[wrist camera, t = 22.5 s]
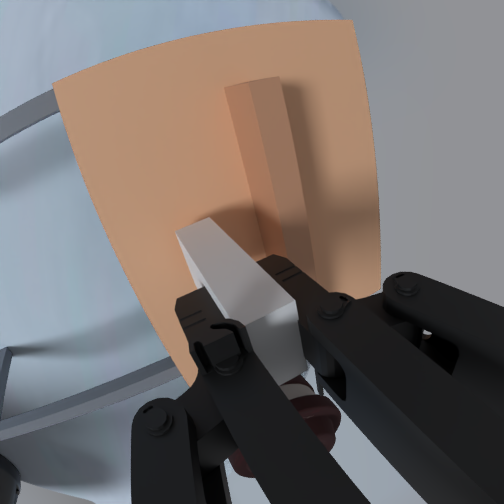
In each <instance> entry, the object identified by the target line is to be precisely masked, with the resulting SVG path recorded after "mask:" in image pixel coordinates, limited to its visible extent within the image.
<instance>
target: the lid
mask: <svg viewBox="0 0 504 504" xmlns="http://www.w3.org/2000/svg"><path fill="white" fill-rule="evenodd" d="M52 85H53V89H54V93H55V96H56V100H57V103H58V106H59V110H60V113H61V116H62V119H63V123H64V126H65V129H66V132H67V135H68V138H69V141H70V144H71V146H72V149H73V152H74V155H75V158H76V160H77V163H78V166H79V169H80V171H81V174H82V177H83V179H84V182H85V184H86V187H87V189H88V192H89V194H90V197H91V199H92V202H93V204H94V206H95V209H96V211H97V214H98V216H99V218H100V221H101V223H102V225H103V227H104V230H105V232H106V234H107V236H108V239H109V241H110V243H111V245H112V247H113V249H114V251H115V254H116V256H117V258H118V260H119V262H120V264H121V266H122V268H123V270H124V272H125V274H126V276H127V278H128V280H129V282H130V284H131V286H132V288H133V290H134V292H135V294H136V296H137V298H138V300H139V302H140V303H141V305H142V307H143V309H144V311H145V313H146V315H147V316H148V318H149V320H150V322H151V324H152V325H153V327H154V329H155V331H156V332H157V334H158V336H159V338H160V339H161V341H162V343H163V345H164V346H165V348H166V350H167V351H168V353H169V355H170V356H171V358H172V360H173V361H174V363H175V365H176V366H177V368H178V370H179V371H180V373H181V374H182V376H183V378H184V379H185V381H186V382H187V384H188V385H189V387H191V386H192V384H193V383H194V381H195V380H196V377H197V374H198V368H197V366H196V364H195V362H194V360H193V358H192V357H191V355H190V353H189V346H188V344H189V343H188V341H187V339H186V336H185V334H184V332H183V329H182V327H181V325H180V322H179V320H178V317H177V315H176V313H175V310H174V309H175V304H176V299H177V298H179V297H181V296H184V295H186V294H188V293H190V292H193V291H195V290H197V287H196V285H195V283H194V280H193V278H192V275H191V273H190V270H189V267H188V265H187V262H186V260H185V257H184V254H183V252H182V249H181V247H180V244H179V241H178V239H177V236H176V233H175V231H176V230H179V229H181V228H184V227H186V226H189V225H191V224H193V223H196V222H198V221H201V220H203V219H206V218H208V217H210V218H211V219H212V220H213V221H214V222H215V223H216V224H217V225H218V226H219V227H220V228H221V229H222V230H223V231H224V232H225V233H226V234H227V235H228V236H229V237H230V238H231V239H232V240H233V241H234V242H235V243H237V244H238V245H239V246H240V247H241V248H242V249H243V250H244V251H245V252H246V253H247V254H248V255H249V256H250V257H251V258H252V259H253V260H254V261H255V262H257V261H259V260H261V259H263V258H266V257H268V256H270V255H272V254H275V255H278V256H282V257H285V258H287V259H288V260H290V261H291V262H292V263H293V264H295V266H297V267H298V268H300V269H301V270H302V272H304V273H306V274H307V275H308V276H309V277H311V278H312V279H313V280H314V281H316V282H317V283H318V284H319V285H321V286H322V287H323V288H324V289H325V290H327V291H328V292H340V293H346V294H348V295H350V296H352V297H353V298H355V299H360V298H365V297H368V296H370V295H371V294H373V293H375V292H376V291H378V290H379V289H380V288H381V253H380V252H381V248H380V247H381V246H380V217H379V197H378V183H377V171H376V159H375V149H374V141H373V132H372V124H371V117H370V110H369V103H368V96H367V90H366V84H365V78H364V73H363V67H362V62H361V57H360V52H359V48H358V43H357V38H356V34H355V29H354V26H353V21H352V20H310V21H292V22H279V23H269V24H260V25H252V26H245V27H238V28H231V29H225V30H220V31H214V32H209V33H204V34H199V35H194V36H190V37H186V38H181V39H177V40H173V41H169V42H165V43H162V44H158V45H154V46H151V47H147V48H144V49H141V50H137V51H134V52H131V53H128V54H125V55H122V56H119V57H116V58H113V59H111V60H108V61H105V62H102V63H100V64H97V65H94V66H92V67H89V68H87V69H84V70H82V71H79V72H77V73H75V74H72V75H70V76H68V77H65V78H63V79H61V80H59V81H57V82H54V83H52Z"/></svg>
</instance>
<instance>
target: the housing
mask: <svg viewBox="0 0 504 504" xmlns="http://www.w3.org/2000/svg"><path fill="white" fill-rule="evenodd" d="M58 112H60V110H59V106H58V103H57V100H56V96H55V93H54V89H52V90H49V91H47V92H45V93H43V94H41V95H39V96H37V97H35V98H33V99H31V100H29V101H28V102H26V103H24V104H22V105H20V106H18V107H17V108H15V109H13V110H11V111H9V112H8V113H6V114H4V115H3V116H1V117H0V143H2V142H3V141H5V140H7V139H9V138H10V137H12V136H14V135H16V134H17V133H19V132H21V131H23V130H25V129H26V128H28V127H30V126H32V125H34V124H36V123H38V122H40V121H42V120H44V119H46V118H48V117H50V116H52V115H54V114H56V113H58ZM12 355H13V354H12V353H11V352H10V350H9V349H8V348H7V347H6V348H3V349H1V350H0V441H2V440H5V439H9V438H12V437H16V436H19V435H23V434H26V433H30V432H33V431H36V430H39V429H43V428H46V427H49V426H52V425H55V424H58V423H61V422H64V421H67V420H70V419H73V418H76V417H79V416H82V415H84V414H87V413H90V412H93V411H96V410H98V409H101V408H104V407H106V406H109V405H112V404H114V403H117V402H120V401H122V400H125V399H127V398H130V397H132V396H135V395H137V394H140V393H142V392H145V391H147V390H150V389H152V388H155V387H157V386H159V385H162V384H164V383H167V382H169V381H171V380H174V379H176V378H178V377H180V376H182V374H181V373H180V371H179V370H178V368H177V366H176V365H175V363H174V361H173V360H172V358H171V356H169V357H167V358H165V359H162V360H160V361H158V362H155V363H153V364H151V365H148V366H146V367H144V368H141V369H139V370H136V371H134V372H132V373H129V374H127V375H124V376H122V377H119V378H117V379H114V380H112V381H109V382H107V383H104V384H102V385H99V386H97V387H94V388H92V389H89V390H86V391H84V392H81V393H79V394H76V395H73V396H71V397H68V398H65V399H63V400H60V401H57V402H54V403H52V404H49V405H46V406H43V407H40V408H37V409H35V410H32V411H29V412H26V413H23V414H20V415H17V416H14V417H11V418H8V419H5V420H2V421H1V414H2V407H3V401H4V395H5V389H6V383H7V378H8V373H9V368H10V364H11V359H12Z"/></svg>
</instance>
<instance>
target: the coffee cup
mask: <svg viewBox="0 0 504 504" xmlns="http://www.w3.org/2000/svg"><path fill="white" fill-rule="evenodd" d="M279 387H280V388H281V390H282V391H283V392H284V394H285V395H286V396H287V398H288V399H289V400H290V402H291V403H292V404H293V406H294V407H295V409H296V410H297V411H298V413H299V414H300V415H301V417H302V418H303V419H304V420H305V422H306V423H307V424H308V426H309V427H310V428H311V430H312V431H313V432H314V434H315V435H316V436H317V437H318V439H319V440H320V441H321V443H322V444H323V445H324V446H325V448H326V449H327V450H328V452H330V451H331V449H332V448H333V446H334V444H335V440H336V437H335V432H336V431H337V429H338V427H339V425H340V421H341V413H340V411H339V409H338V408H337V407H336V406H335V405H334V403H333V402H332V401H331V400H330V399H329V398H327V397H326V396H323V395H322V396H320V395H316V394H315V393H314V390H313V388H312V386H311V385H310V384H309V383H308V382H307V381H306V380H305V379H304V378H303V377H302V376H301V375H298V376H296V377H294V378H292V379H291V380H289V381H287V382H285V383H283V384H281V385H280V386H279ZM228 459H229V461H230V463H231V465H232V467H233V469H234V470H235V472H236V473H237V474H239V475H241V476H243V477H248V478H255V476H254V475H253V473H252V471H251V469H250V468H249V466H248V464H247V462H246V461H245V459H244V457H243V455H242V453H241V452H240V450H239V448H238V449H237V450H236V451H235V452H234V453H233V454H232V455H230V456H229V457H228Z"/></svg>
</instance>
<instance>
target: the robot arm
mask: <svg viewBox="0 0 504 504" xmlns="http://www.w3.org/2000/svg"><path fill="white" fill-rule="evenodd" d="M175 233H176V236H177V239H178V241H179V244H180V247H181V249H182V252H183V254H184V257H185V260H186V262H187V265H188V267H189V270H190V273H191V275H192V278H193V280H194V283H195V285H196V287H197V290H195V291H193V292H190V293H188V294H186V295H184V296H181V297H179V298H177V299H176V304H175V309H174V310H175V313H176V315H177V317H178V320H179V322H180V325H181V327H182V329H183V332H184V334H185V336H186V339H187V341H188V343H189V344H188V346H189V353H190V355H191V357H192V358H193V360H194V362H195V364H196V366H197V368H198V374H197V377H196V380H195V381H194V383H193V384H192V386H191V387H190V388H189V389H188V390H187V391H186V392H185V393H184V394H182V395H181V396H180V397H179V398H177V399H176V400H173V399H170V398H157V399H155V400H152V401H149V402H147V403H146V404H145V405H143V406H142V407H141V408H140V409H139V410H138V412H137V413H136V415H135V416H134V419H133V423H132V431H131V502H132V504H232V502H231V497H230V492H229V487H228V482H227V477H226V472H225V466H224V461H225V460H226V459H227V458H228V457H229V456H230V455H232V454H233V453H234V452H235V451H236V450H237V449H238V448H239V450H240V452H241V453H242V455H243V457H244V459H245V461H246V462H247V464H248V466H249V468H250V469H251V471H252V473H253V475H254V476H255V478H256V480H257V481H258V483H259V485H260V487H261V488H262V490H263V492H264V493H265V495H266V497H267V498H268V500H269V502H270V503H271V504H371V503H370V502H369V501H368V499H367V498H366V497H365V496H364V495H363V494H362V492H361V491H360V490H359V489H358V488H357V486H356V485H355V484H354V483H353V482H352V480H351V479H350V478H349V477H348V475H347V474H346V473H345V472H344V470H343V469H342V468H341V467H340V465H339V464H338V463H337V462H336V460H335V459H334V458H333V457H332V455H331V454H330V453H329V452H328V450H327V449H326V448H325V446H324V445H323V444H322V443H321V441H320V440H319V439H318V437H317V436H316V435H315V434H314V432H313V431H312V430H311V428H310V427H309V426H308V424H307V423H306V422H305V420H304V419H303V418H302V417H301V415H300V414H299V413H298V411H297V410H296V409H295V407H294V406H293V404H292V403H291V402H290V400H289V399H288V398H287V396H286V395H285V394H284V392H283V391H282V390H281V388H280V387H279V386H280V385H281V384H283V383H285V382H287V381H289V380H291V379H292V378H294V377H296V376H298V375H300V374H301V373H303V372H305V371H307V370H308V368H307V363H306V359H307V360H308V362H309V363H310V364H311V365H312V366H313V367H314V368H315V375H316V382H317V389H318V392H319V394H320V396H322V395H324V393H323V388H324V389H325V390H326V391H327V393H329V395H330V396H331V397H332V398H333V400H334V401H335V402H336V403H337V404H338V405H339V406H340V408H341V409H342V410H343V411H344V412H345V413H346V414H347V416H348V417H349V418H350V419H351V420H352V421H353V422H354V424H355V425H356V426H357V427H358V428H359V429H360V430H361V431H362V433H363V434H364V435H365V436H366V437H367V438H368V439H369V440H370V442H371V443H372V444H373V445H374V446H375V447H376V448H377V449H378V450H379V452H380V453H381V454H382V455H383V456H384V457H385V458H386V459H387V460H388V461H389V463H390V464H391V465H392V466H393V467H394V468H395V469H396V470H397V471H398V472H399V473H400V475H401V476H402V477H403V478H404V479H405V480H406V481H407V482H408V483H409V484H410V485H411V487H412V488H413V489H414V490H415V491H416V492H417V493H418V494H419V495H420V496H421V497H422V498H423V499H424V500H425V501H426V502H427V503H428V504H504V307H502V306H499V305H497V304H495V303H492V302H490V301H487V300H485V299H482V298H480V297H477V296H475V295H472V294H469V293H467V292H464V291H462V290H459V289H457V288H454V287H452V286H449V285H446V284H444V283H441V282H438V281H436V280H433V279H431V278H428V277H425V276H423V275H420V274H417V273H413V272H398V273H395V274H392V275H391V276H389V277H388V278H386V280H385V281H384V283H383V292H382V293H378V294H375V295H371V296H368V297H365V298H360V299H355V298H353V297H352V296H350V295H348V294H346V293H340V292H328V291H327V290H325V289H324V288H323V287H322V286H321V285H319V284H318V283H317V282H316V281H314V280H313V279H312V278H311V277H309V276H308V275H307V274H306V273H304V272H302V270H301V269H300V268H298V267H297V266H295V264H293V263H292V262H291V261H290V260H288V259H287V258H285V257H282V256H278V255H275V254H272V255H270V256H268V257H266V258H263V259H261V260H259V261H257V262H255V261H254V260H253V259H252V258H251V257H250V256H249V255H248V254H247V253H246V252H245V251H244V250H243V249H242V248H241V247H240V246H239V245H238V244H237V243H235V242H234V241H233V240H232V239H231V238H230V237H229V236H228V235H227V234H226V233H225V232H224V231H223V230H222V229H221V228H220V227H219V226H218V225H217V224H216V223H215V222H214V221H213V220H212V219H211V218H210V217H208V218H206V219H203V220H201V221H198V222H196V223H193V224H191V225H189V226H186V227H184V228H181V229H179V230H176V231H175ZM424 330H426V331H428V332H431V333H432V334H431V335H426V334H423V331H424ZM20 489H21V484H20V474H19V472H18V470H17V469H16V468H15V467H14V466H13V465H12V464H11V463H10V462H9V461H8V460H7V459H5V458H4V457H2V456H1V455H0V504H16V502H17V498H18V495H19V493H20Z"/></svg>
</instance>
